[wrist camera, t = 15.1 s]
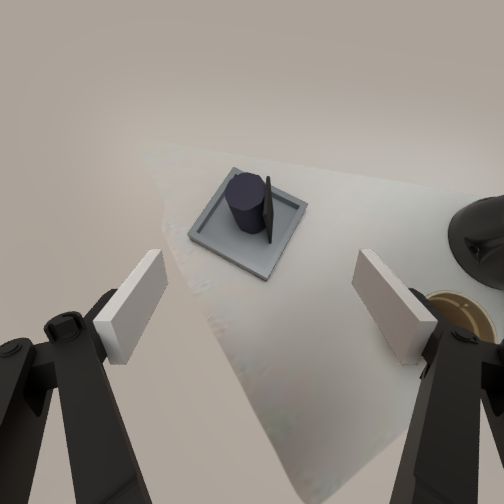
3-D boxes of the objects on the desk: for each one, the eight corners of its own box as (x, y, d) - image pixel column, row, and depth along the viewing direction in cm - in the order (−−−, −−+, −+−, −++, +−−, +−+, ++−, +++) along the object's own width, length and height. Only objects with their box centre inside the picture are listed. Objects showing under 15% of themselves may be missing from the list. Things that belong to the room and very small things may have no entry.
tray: (304, 210, 42) (308, 203, 40) (266, 281, 38) (267, 278, 36) (234, 175, 44) (233, 166, 42) (190, 239, 40) (187, 234, 38)
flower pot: (385, 289, 38) (422, 278, 30) (445, 312, 37) (501, 308, 29) (370, 349, 36) (407, 355, 27) (435, 376, 35) (494, 390, 26)
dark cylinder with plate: (285, 214, 40) (288, 177, 31) (271, 244, 39) (269, 216, 29) (244, 198, 42) (234, 158, 32) (229, 227, 41) (214, 194, 31)
